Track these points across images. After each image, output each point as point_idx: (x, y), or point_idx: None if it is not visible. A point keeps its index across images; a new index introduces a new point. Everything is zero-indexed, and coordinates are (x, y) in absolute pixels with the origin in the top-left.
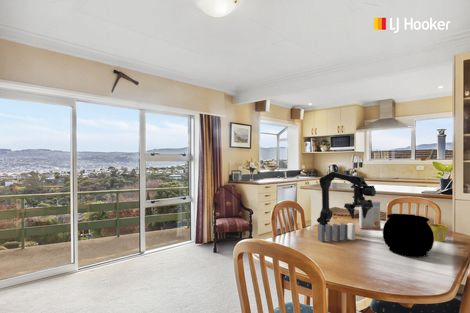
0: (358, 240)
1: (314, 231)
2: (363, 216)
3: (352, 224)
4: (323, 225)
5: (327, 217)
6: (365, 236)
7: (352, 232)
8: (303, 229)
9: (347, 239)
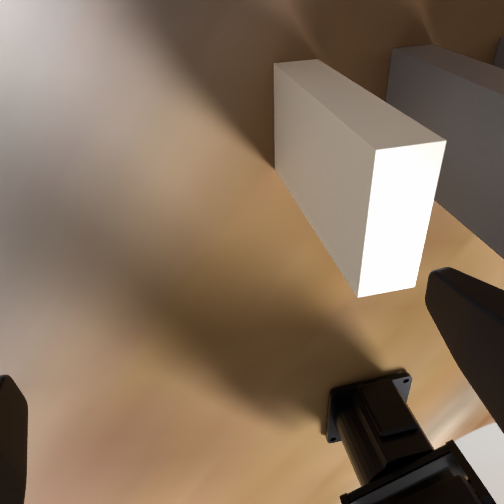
0: (242, 18)
1: (454, 378)
2: (22, 445)
3: (429, 154)
4: (420, 428)
5: (475, 500)
6: (16, 216)
7: (358, 89)
8: (486, 418)
9: (400, 50)
